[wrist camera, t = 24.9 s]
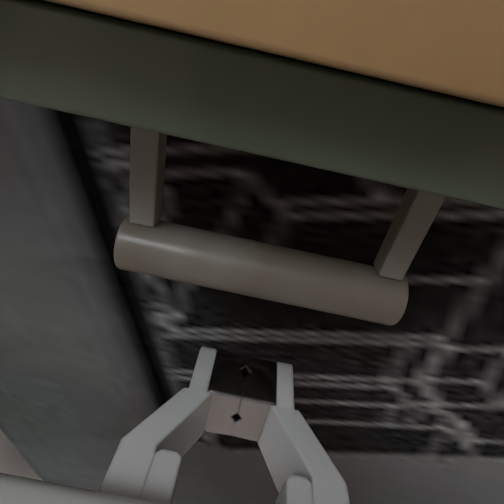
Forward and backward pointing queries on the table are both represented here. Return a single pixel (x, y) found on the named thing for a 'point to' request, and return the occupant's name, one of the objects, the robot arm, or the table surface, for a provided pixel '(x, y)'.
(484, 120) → the drawer
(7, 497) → the robot arm
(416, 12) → the cabinet
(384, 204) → the table surface
